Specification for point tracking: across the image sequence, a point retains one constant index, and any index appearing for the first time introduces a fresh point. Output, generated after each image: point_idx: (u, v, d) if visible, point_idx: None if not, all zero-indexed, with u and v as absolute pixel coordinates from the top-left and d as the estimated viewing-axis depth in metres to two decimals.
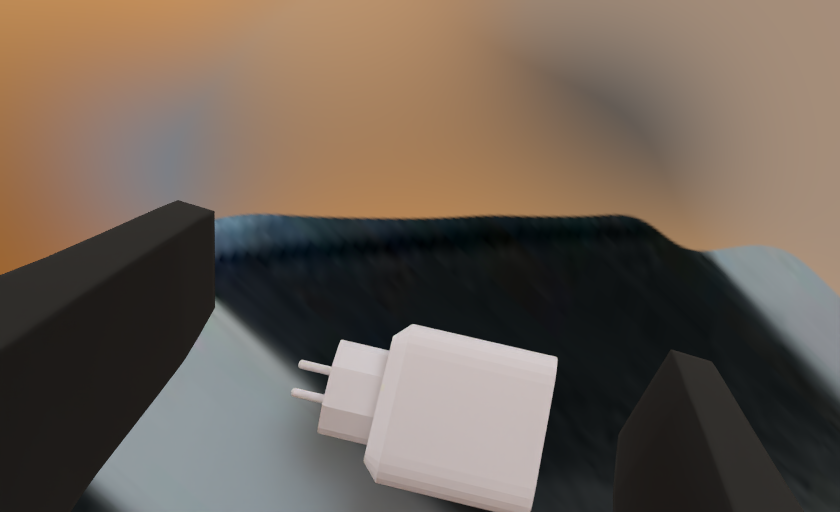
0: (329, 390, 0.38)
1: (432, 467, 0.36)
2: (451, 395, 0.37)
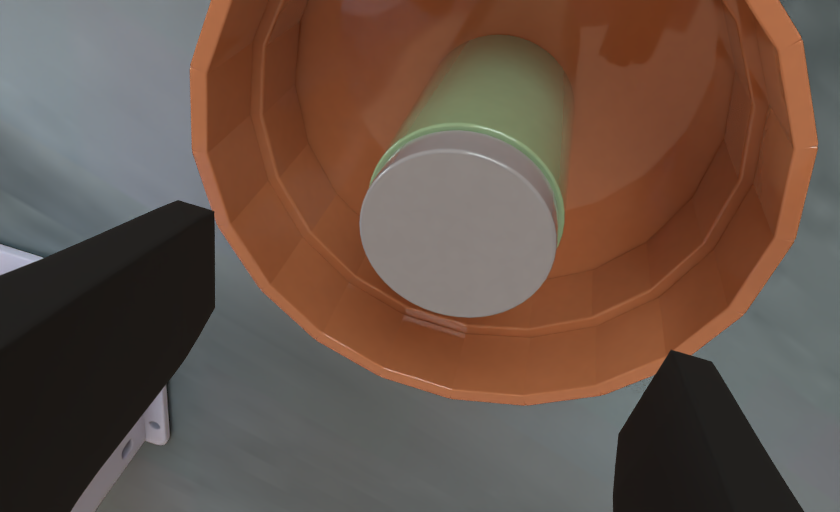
0: None
1: None
2: None
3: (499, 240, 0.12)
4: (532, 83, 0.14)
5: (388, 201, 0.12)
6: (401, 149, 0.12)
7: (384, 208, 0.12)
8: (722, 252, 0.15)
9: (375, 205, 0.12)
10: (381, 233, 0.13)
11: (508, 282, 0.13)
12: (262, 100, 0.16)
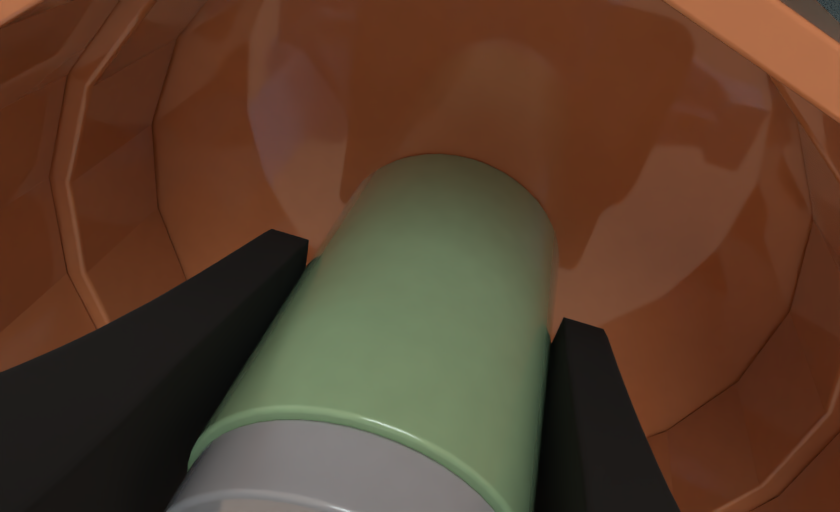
0: None
1: None
2: None
3: None
4: (483, 265, 0.08)
5: None
6: (218, 450, 0.06)
7: None
8: None
9: None
10: None
11: None
12: (81, 255, 0.11)
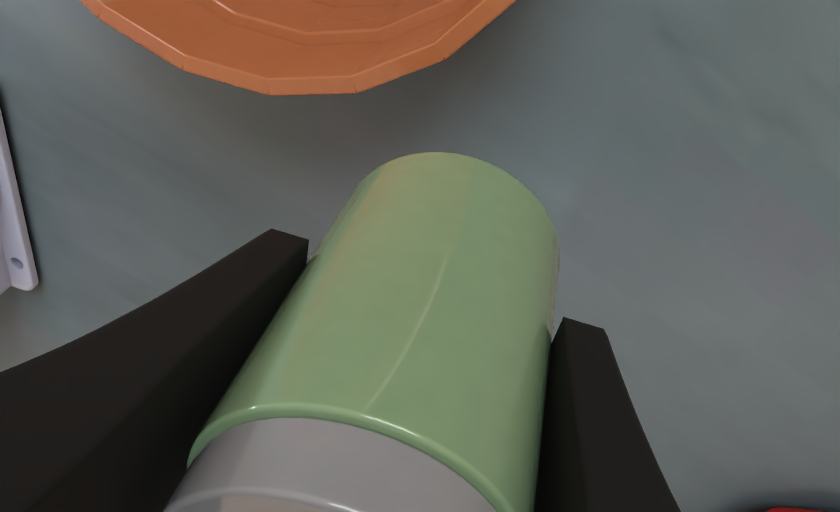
0: None
1: None
2: None
3: None
4: (483, 263, 0.08)
5: None
6: (217, 447, 0.06)
7: None
8: None
9: None
10: None
11: None
12: None
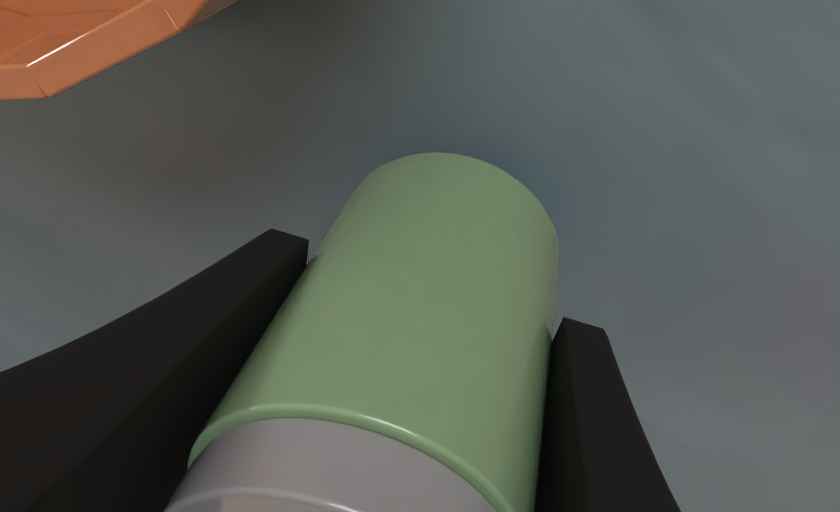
0: None
1: None
2: None
3: None
4: (483, 264, 0.08)
5: None
6: (218, 448, 0.06)
7: None
8: None
9: None
10: None
11: None
12: None
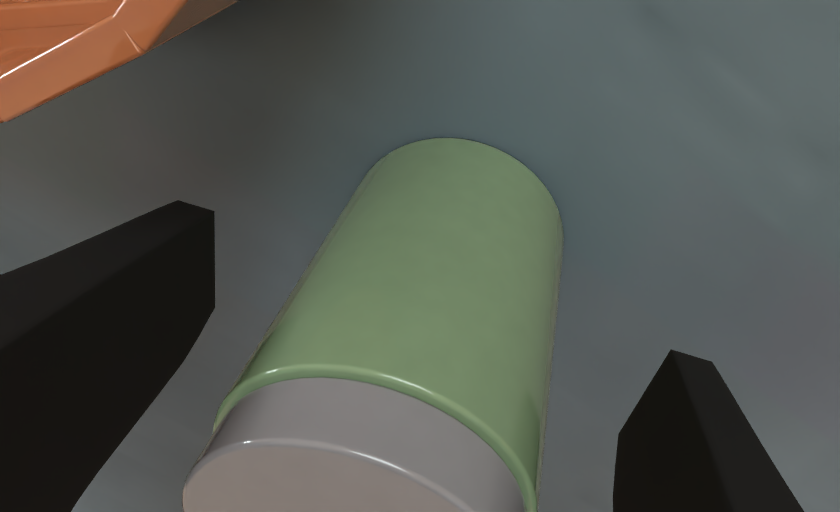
0: None
1: None
2: None
3: None
4: (491, 240, 0.09)
5: (223, 497, 0.07)
6: (246, 406, 0.07)
7: (218, 504, 0.07)
8: None
9: (203, 500, 0.07)
10: None
11: None
12: None
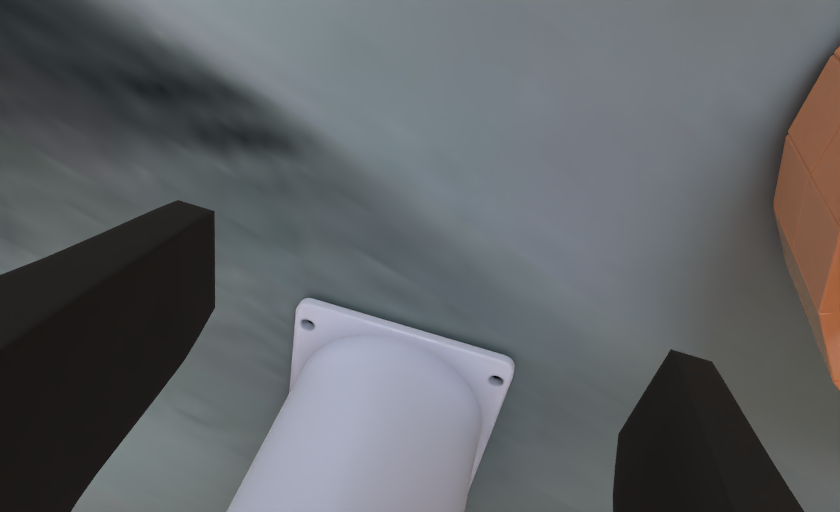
0: None
1: None
2: None
3: None
4: None
5: None
6: None
7: None
8: None
9: None
10: None
11: None
12: None
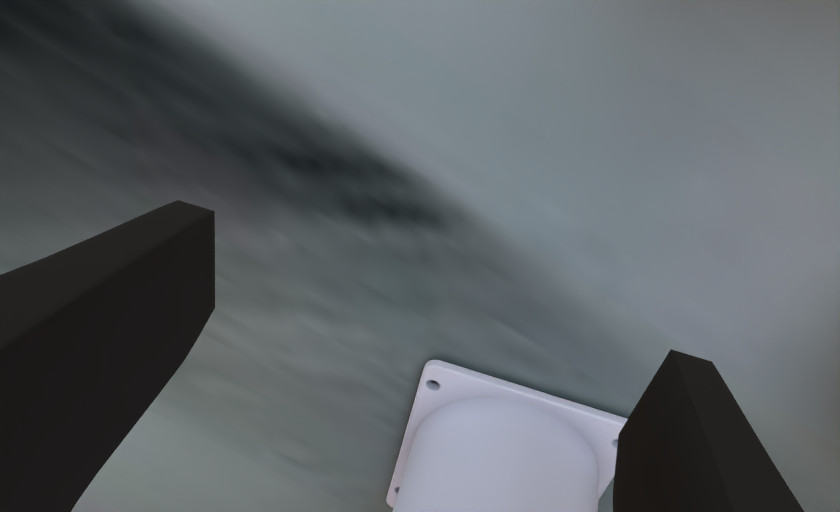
0: None
1: None
2: None
3: None
4: None
5: None
6: None
7: None
8: None
9: None
10: None
11: None
12: None
